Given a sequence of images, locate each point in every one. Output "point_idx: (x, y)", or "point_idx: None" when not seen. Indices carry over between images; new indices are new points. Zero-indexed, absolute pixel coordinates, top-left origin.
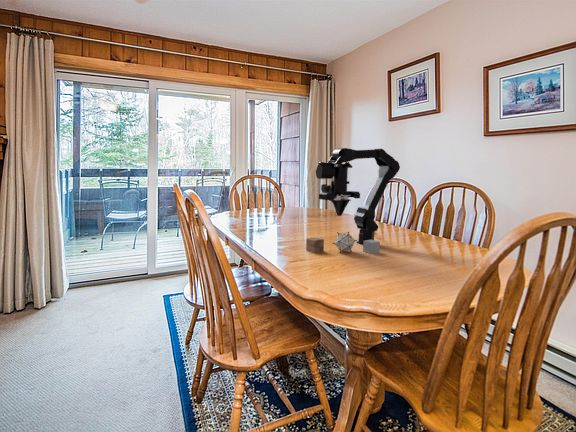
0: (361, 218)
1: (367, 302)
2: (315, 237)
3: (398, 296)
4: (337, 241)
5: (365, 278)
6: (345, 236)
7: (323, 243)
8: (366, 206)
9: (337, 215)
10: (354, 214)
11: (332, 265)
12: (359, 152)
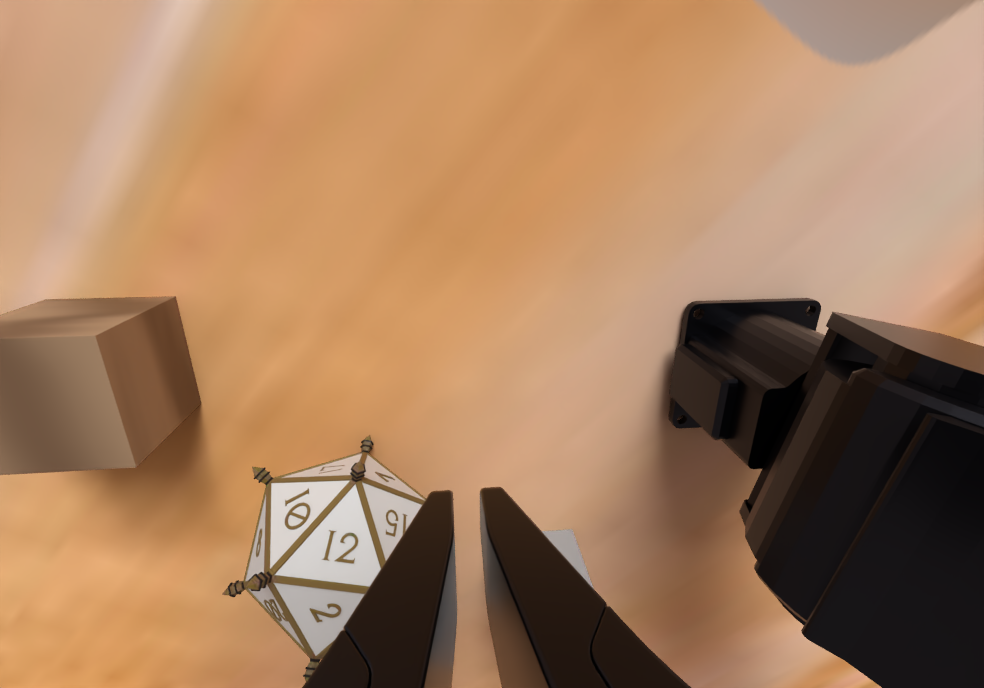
0: (808, 579)
1: None
2: (76, 350)
3: None
4: (253, 553)
5: None
6: (296, 640)
7: (156, 442)
8: None
9: (431, 497)
10: (943, 426)
11: (73, 684)
12: None
